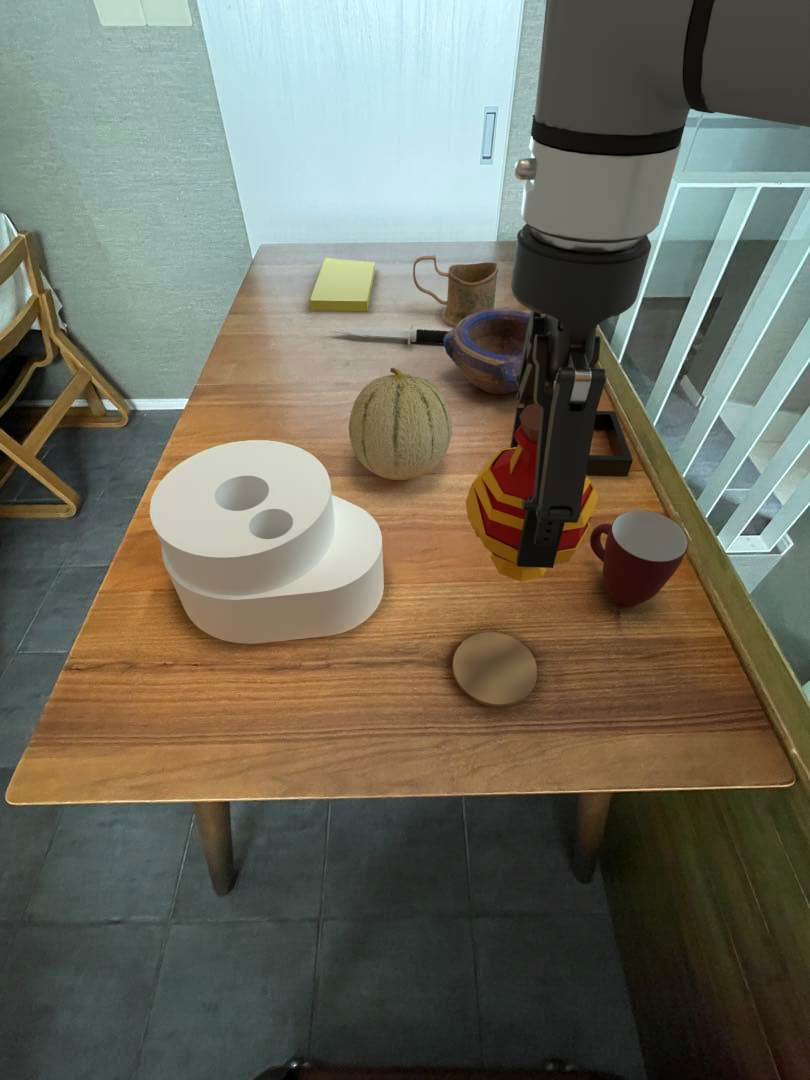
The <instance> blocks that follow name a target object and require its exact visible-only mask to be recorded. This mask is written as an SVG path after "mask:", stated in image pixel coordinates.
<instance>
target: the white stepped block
mask: <svg viewBox="0 0 810 1080" xmlns="http://www.w3.org/2000/svg"><path fill="white" fill-rule="evenodd" d="M331 484H332V483H331V480H330V476H329V473H328V470H327V469H326V467H325V466H324V464H323V463H322V462H321V461H320V460H319V459H318V458H317V457H315V455H313V454H312V453H310V452H309V451H306V450H305V449H303V448H301V447H298V446H296V445H293V444H289V443H286V442H282V441H275V440H268V439H267V440H266V439H263V440H262V439H250V440H240V441H239V440H238V441H232V442H228V443H223V444H219V445H216V446H213V447H210V448H208V449H205V450H202V451H200V452H197V453H195V454H193V455H192V456H189V457H188V458H186V459H184V460H183V461H181V462H180V463H178V464H177V465H175V467H173V468H172V469H171V470H170V471H169V472H167V473H166V475H165V476H163V478H162V479H161V480H160V481H159V483H158V484H157V486H156V487H155V490H154V492H153V494H152V496H151V498H150V503H149V516H150V521H151V523H152V526H153V528H154V531H155V533H156V535H157V538H158V540H159V542H160V545H161V557H162V561H163V564H164V566H165V569H166V570H167V573H168V576H169V577H170V580H171V582H172V584H173V586H174V589H175V591H176V594H177V596H178V598H179V600H180V602H181V605H182V607H183V609H184V611H185V613H186V615H187V617H188V618H189V620H190V621H191V622H192V623H193V624H194V625H195V626H196V627H197V628H198V629H199V630H200V631H202V632H204V633H205V634H207V635H209V636H210V637H213V638H216V639H218V640H221V641H225V642H229V643H233V644H234V643H235V644H243V645H244V644H245V645H253V644H255V645H256V644H266V643H267V644H268V643H274V642H285V641H295V640H306V639H314V638H322V637H332V636H336V635H340V634H343V633H346V632H349V631H351V630H353V629H354V628H357V627H359V626H360V625H361V624H363V623H364V622H366V621H367V620H368V619H369V618H370V617H371V616H372V615H373V614H374V613H375V611H376V610H377V608H378V607H379V606H380V604H381V601H382V599H383V596H384V590H385V575H384V556H383V555H384V552H383V551H384V550H383V536H382V531H381V529H380V526H379V524H378V522H377V521H376V519H375V518H374V517H373V516H372V515H371V514H370V513H369V512H368V511H366V510H365V509H363V508H362V507H360V506H358V505H356V504H354V503H351V502H350V501H347V500H345V499H343V498H341V497H339V496H336V495H334V494H332V493H333V492H332V485H331Z"/></svg>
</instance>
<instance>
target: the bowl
mask: <svg viewBox="0 0 810 1080" xmlns="http://www.w3.org/2000/svg"><path fill="white" fill-rule="evenodd" d="M530 314H531V312H527V311H522V310H518V309H514V308H511V307H509V306H505V307H504V306H503V307H498V308H493V309H491V310H484V311H480V312H477V313H474V314H471V315H469V316H467V317H466V318H464V319H463V320H461V321H460V322H459V323H458V325H457V326H456V327H453V328H452V329H450V330H448V331H449V332H448V333H447V334H446V335H445V336H444V339H443V342H444V344H443V348H444V350H445V353H446V354H447V356H448V358H450V359H451V360H452V362H453V363H454V364H455V365H456V366H457V367H458V369H459V371H460V372H461V373H462V375H463V376H464V377H465V379H467V381H469V383H471V384H472V385H474V386H475V387H477V388H479V389H481V390H482V391H484V392H486V393H489V394H494V395H506V394H509V393H514V392H518V391H519V388H520V386H517V382H516V375H518V370H519V365H520V360H521V356H522V351H523V346H524V342H525V337H526V332H527V328H528V323H529V319H530Z"/></svg>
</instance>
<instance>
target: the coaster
mask: <svg viewBox="0 0 810 1080" xmlns="http://www.w3.org/2000/svg"><path fill="white" fill-rule="evenodd" d="M452 658H453V659H452V673H453V674H452V675H453V678H454V680H455V683H456V684H457V686H458V688H459V689H460V690H461V692H463V693H464V695H465V696H467V697H468V698H470V699H471V700H472V701H474V702H476V703H478V704H480V705H484V706H488V707H493V708H504V707H505V708H506V707H510V706H514V705H516V704H518V703H519V704H520V702H522V701H524V700H525V699H526V698H527V697H528V696H529V695H530V694H531V693H532V692H533V690H534V687H535V686H536V682H537V679H538V667H537V662H536V659H535V656H533V653H532V651H530V649H529V648H528V647H527V646H526V645H525V643H523V642H522V641H520V640H518V638H516V637H513V636H511V635H509V634H506V633H502V632H499V631H498V632H497V631H485V632H479V633H476V634H473V635H471V636H468V638H466V639H464V640H463V641H462V642H461V643H460V645H458V647H457V648H456V650H455V652H454V654H453V657H452Z"/></svg>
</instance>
